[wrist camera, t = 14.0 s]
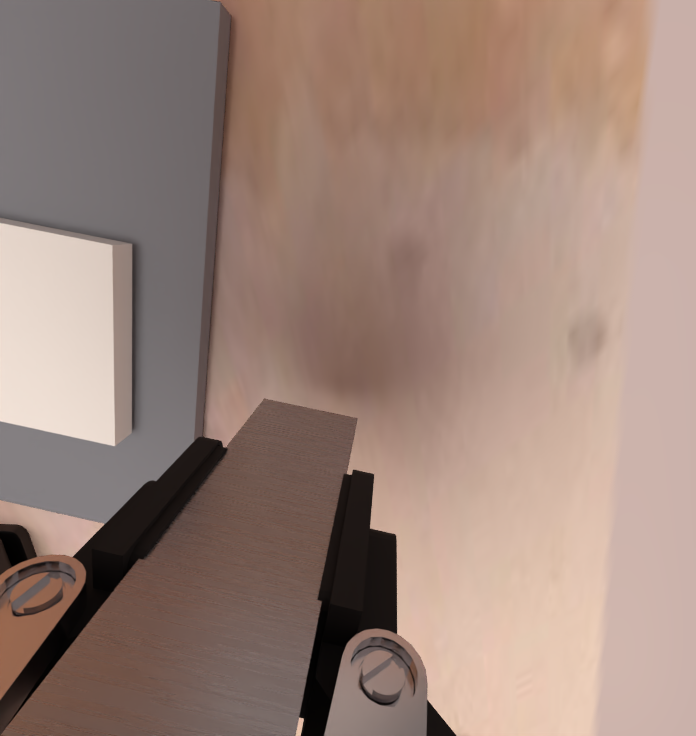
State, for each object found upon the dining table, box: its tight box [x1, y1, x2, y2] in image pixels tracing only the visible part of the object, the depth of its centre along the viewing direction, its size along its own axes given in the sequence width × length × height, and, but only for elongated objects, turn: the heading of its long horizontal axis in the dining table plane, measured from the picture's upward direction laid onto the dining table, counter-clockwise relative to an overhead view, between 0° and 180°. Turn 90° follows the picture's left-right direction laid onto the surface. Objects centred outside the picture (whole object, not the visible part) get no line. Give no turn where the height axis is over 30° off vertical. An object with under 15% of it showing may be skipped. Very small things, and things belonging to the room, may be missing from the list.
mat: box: [0, 0, 231, 524], centre depth 19 cm, size 24×18×1 cm
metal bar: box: [0, 399, 358, 736], centre depth 8 cm, size 3×3×12 cm
